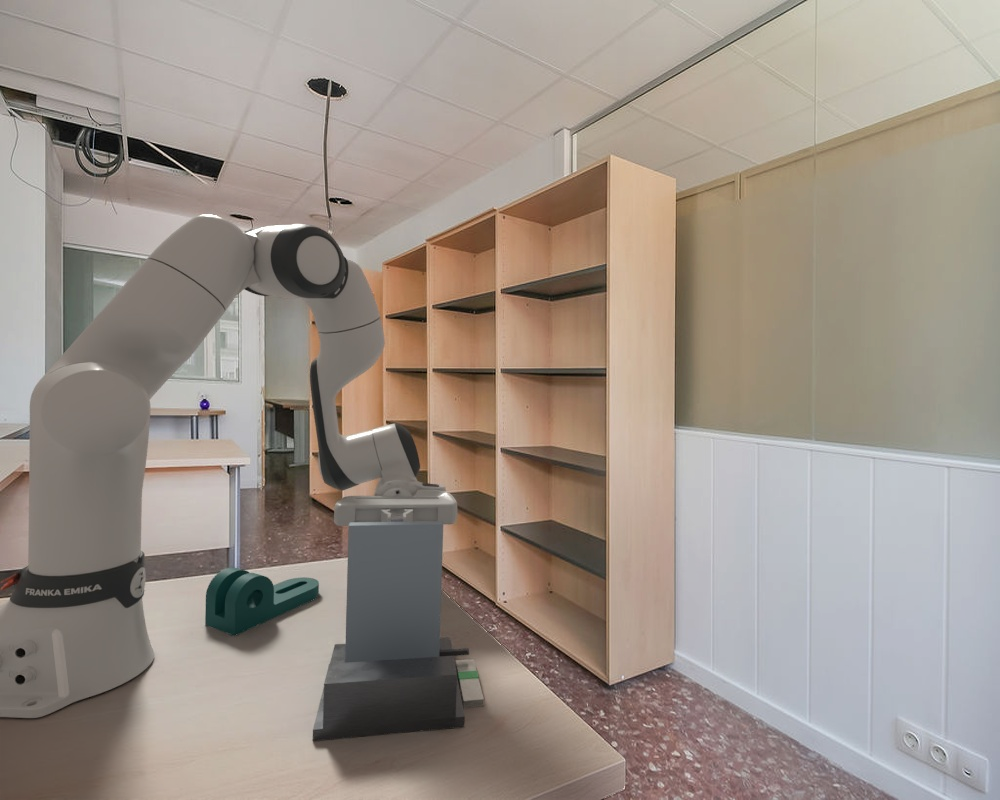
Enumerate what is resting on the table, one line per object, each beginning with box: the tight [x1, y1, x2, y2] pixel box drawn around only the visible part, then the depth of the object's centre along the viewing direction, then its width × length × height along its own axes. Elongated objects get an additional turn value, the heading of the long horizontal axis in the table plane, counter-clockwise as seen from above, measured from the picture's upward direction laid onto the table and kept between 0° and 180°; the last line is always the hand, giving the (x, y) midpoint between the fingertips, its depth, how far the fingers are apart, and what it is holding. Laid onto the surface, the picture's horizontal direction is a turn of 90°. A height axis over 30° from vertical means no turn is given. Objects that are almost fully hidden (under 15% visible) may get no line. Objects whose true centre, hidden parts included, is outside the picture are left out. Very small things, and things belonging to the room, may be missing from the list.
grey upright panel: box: [344, 521, 470, 663], centre depth 68 cm, size 16×2×18 cm, turn 101°
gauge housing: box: [312, 637, 485, 742], centre depth 65 cm, size 19×18×6 cm
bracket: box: [204, 566, 320, 637], centre depth 85 cm, size 18×7×8 cm, turn 153°
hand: (396, 522), depth 81 cm, fingers closed
